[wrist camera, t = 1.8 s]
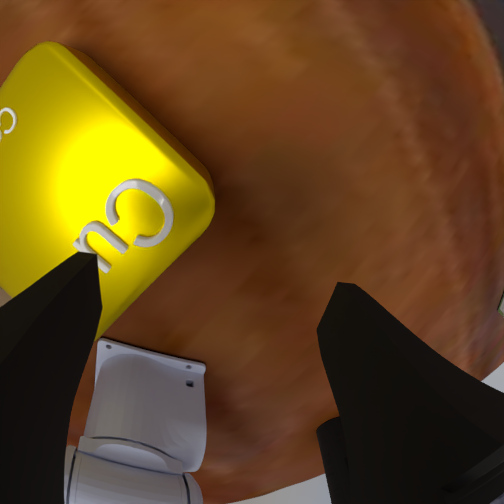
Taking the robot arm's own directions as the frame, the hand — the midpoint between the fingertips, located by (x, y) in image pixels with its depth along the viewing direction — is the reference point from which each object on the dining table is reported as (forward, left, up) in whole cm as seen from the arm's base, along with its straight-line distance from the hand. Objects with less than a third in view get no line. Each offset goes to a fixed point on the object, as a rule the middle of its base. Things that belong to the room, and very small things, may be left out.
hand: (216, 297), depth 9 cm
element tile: (+9, +3, -12) cm, 15 cm away
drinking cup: (-24, +23, -12) cm, 35 cm away
